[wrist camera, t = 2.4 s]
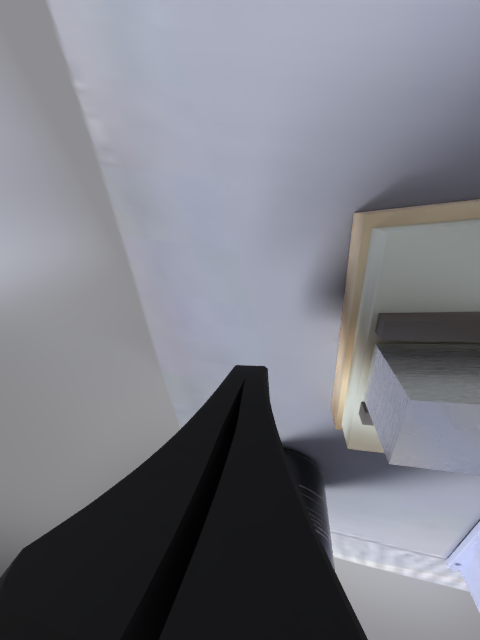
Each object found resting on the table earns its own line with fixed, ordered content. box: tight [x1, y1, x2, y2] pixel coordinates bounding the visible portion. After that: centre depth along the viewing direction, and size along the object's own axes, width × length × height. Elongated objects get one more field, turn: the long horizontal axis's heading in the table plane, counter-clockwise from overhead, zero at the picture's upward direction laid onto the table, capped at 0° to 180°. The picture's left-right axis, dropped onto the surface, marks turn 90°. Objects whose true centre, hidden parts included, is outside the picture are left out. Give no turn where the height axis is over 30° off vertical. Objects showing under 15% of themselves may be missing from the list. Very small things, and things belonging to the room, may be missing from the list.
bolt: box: [364, 343, 480, 475], centre depth 7 cm, size 3×5×3 cm, turn 97°
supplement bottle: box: [284, 449, 335, 571], centre depth 14 cm, size 7×7×12 cm
